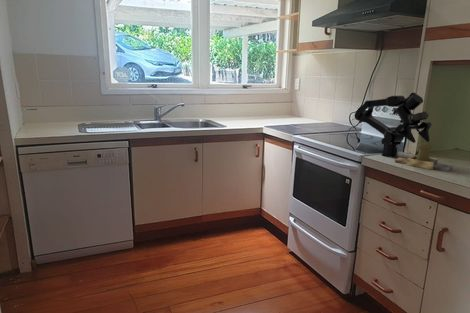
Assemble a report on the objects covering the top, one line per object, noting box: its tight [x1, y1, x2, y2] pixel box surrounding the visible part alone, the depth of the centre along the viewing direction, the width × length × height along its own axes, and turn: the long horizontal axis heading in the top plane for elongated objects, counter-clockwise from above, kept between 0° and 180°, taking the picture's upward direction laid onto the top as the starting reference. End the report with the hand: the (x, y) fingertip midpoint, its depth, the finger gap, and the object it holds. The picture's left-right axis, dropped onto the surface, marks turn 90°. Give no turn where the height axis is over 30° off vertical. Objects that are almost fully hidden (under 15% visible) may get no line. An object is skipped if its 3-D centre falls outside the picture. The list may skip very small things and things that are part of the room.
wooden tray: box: [394, 155, 452, 172], centre depth 165 cm, size 23×11×3 cm, turn 49°
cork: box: [416, 141, 432, 162], centre depth 164 cm, size 6×6×11 cm
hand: (421, 141), depth 164 cm, fingers open, 9 cm apart
